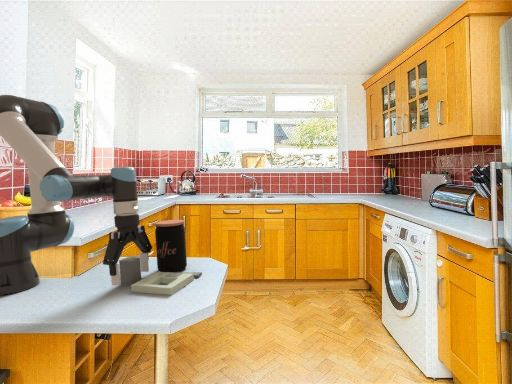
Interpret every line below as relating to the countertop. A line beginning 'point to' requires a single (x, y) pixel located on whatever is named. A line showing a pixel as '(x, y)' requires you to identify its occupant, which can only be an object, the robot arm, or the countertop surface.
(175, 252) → the coffee jar
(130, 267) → the block
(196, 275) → the phone
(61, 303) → the countertop surface
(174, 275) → the outlet plate
